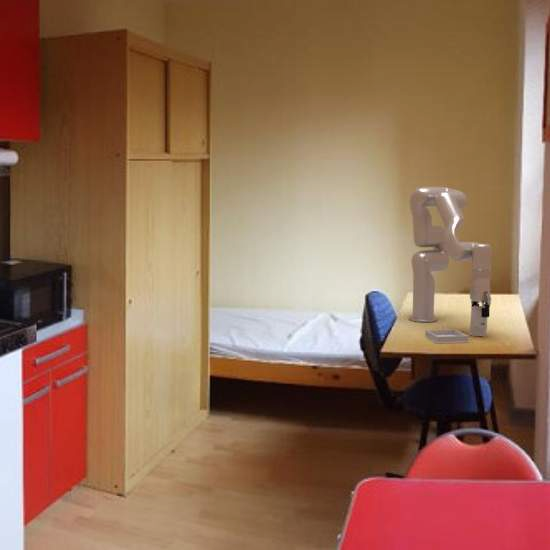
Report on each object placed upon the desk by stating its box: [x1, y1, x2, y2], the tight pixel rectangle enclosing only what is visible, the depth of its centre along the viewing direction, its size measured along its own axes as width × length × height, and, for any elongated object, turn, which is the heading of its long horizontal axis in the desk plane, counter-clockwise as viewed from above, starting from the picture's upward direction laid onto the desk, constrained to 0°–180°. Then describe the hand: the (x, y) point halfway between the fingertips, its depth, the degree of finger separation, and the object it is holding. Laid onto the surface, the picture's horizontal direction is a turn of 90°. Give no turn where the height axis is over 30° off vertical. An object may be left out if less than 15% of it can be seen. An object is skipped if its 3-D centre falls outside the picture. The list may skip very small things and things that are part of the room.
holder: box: [424, 328, 469, 344], centre depth 316 cm, size 13×13×3 cm
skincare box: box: [469, 305, 488, 338], centre depth 323 cm, size 6×4×12 cm
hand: (480, 315), depth 322 cm, fingers open, 9 cm apart
